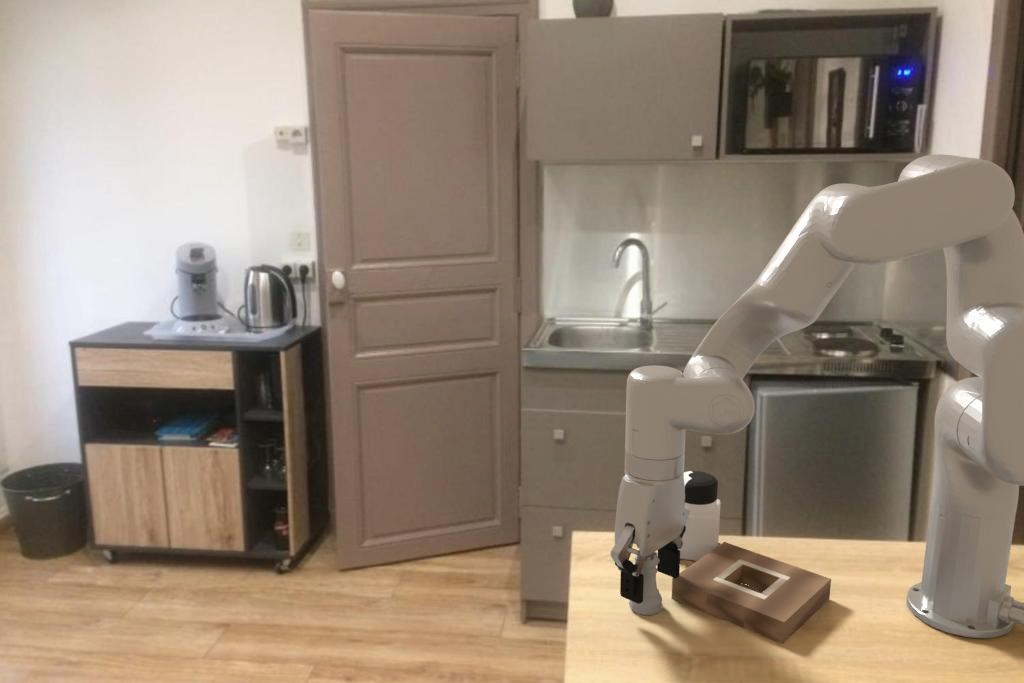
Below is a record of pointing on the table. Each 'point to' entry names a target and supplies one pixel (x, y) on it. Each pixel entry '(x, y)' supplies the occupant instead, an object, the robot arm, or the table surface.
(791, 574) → the board
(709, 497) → the medicine bottle
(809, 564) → the table surface
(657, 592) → the rook chess piece
